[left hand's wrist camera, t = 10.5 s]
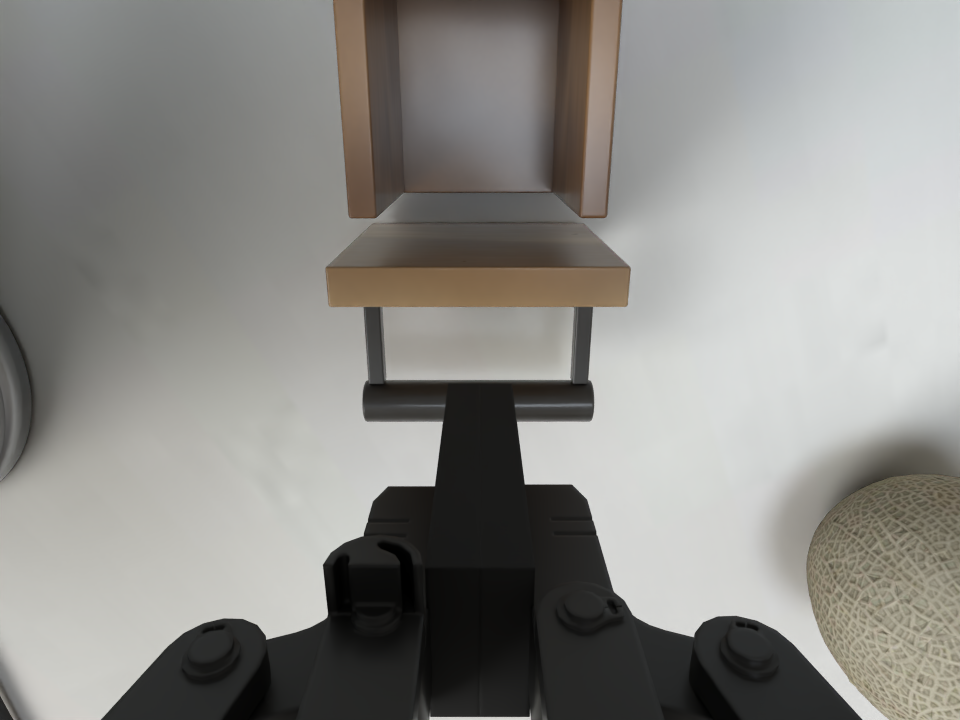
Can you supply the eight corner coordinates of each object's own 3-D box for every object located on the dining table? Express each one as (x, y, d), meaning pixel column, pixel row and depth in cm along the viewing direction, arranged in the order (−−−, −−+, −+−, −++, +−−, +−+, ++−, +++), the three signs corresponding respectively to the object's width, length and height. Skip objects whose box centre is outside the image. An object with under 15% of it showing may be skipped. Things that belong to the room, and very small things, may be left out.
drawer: (575, 380, 28) (612, 479, 20) (381, 380, 28) (343, 479, 20) (612, -255, 20) (697, -495, 12) (343, -255, 20) (256, -496, 12)
